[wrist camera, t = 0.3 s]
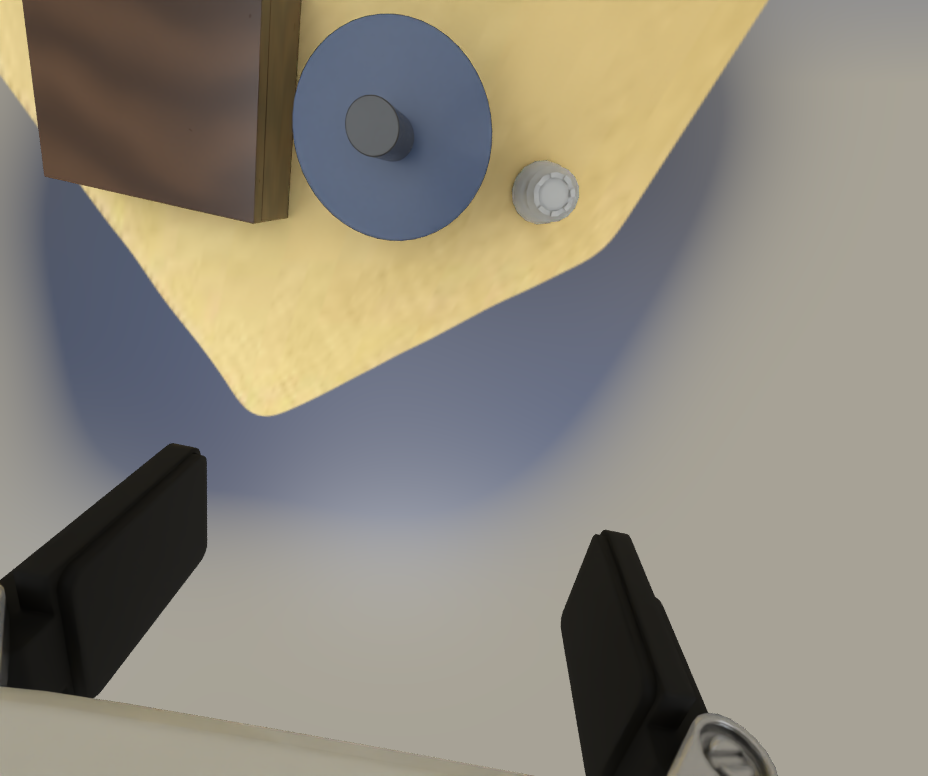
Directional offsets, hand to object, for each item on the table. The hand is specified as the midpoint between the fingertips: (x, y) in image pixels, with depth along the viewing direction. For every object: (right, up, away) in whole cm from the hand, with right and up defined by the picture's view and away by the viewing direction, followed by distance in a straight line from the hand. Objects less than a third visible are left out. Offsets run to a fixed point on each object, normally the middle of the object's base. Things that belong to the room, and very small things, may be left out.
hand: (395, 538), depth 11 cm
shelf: (-18, +25, +23) cm, 39 cm away
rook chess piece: (+8, +18, +25) cm, 32 cm away
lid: (-2, +18, +16) cm, 24 cm away
